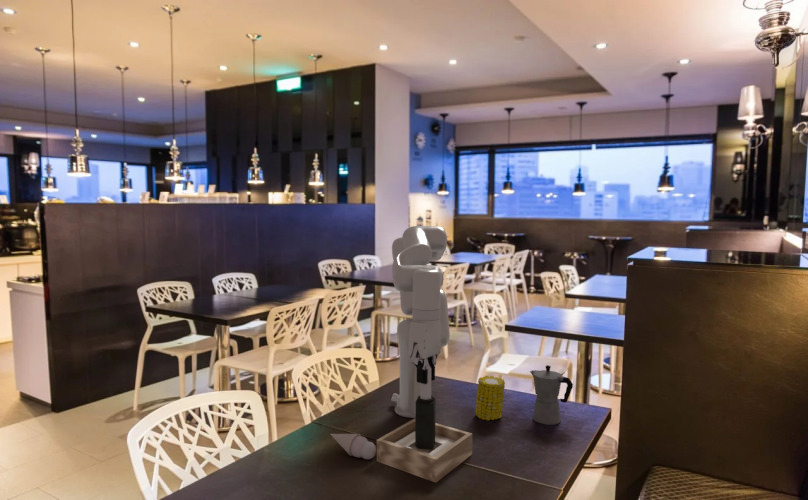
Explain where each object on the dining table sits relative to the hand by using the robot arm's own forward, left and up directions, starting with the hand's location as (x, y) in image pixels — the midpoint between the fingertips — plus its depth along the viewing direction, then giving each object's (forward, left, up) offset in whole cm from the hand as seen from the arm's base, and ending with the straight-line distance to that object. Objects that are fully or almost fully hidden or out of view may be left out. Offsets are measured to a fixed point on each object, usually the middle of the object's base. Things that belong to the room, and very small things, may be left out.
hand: (425, 380), depth 144 cm
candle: (0, 0, -18) cm, 18 cm away
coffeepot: (+19, +45, -22) cm, 54 cm away
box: (0, 0, -22) cm, 22 cm away
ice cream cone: (-17, -11, -22) cm, 30 cm away
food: (+2, +36, -22) cm, 43 cm away
